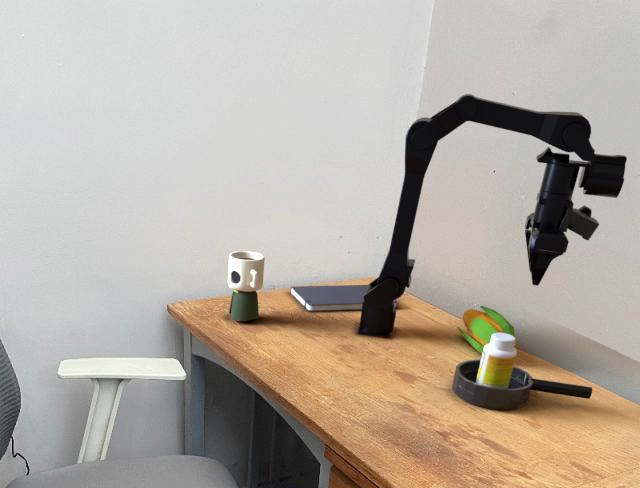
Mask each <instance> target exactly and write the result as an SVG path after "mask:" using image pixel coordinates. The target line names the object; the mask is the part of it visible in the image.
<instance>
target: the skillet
mask: <svg viewBox="0 0 640 488" xmlns="http://www.w3.org/2000/svg"><path fill="white" fill-rule="evenodd" d="M480 362H481V359H471V360H470V359H469V360H465V361H462V362H459V363H458V364H457V365H456V366H455V369H454V375H453V379H452V383H451V389H452V391H453V393H454V394H455V395H456V396H458V398H459V399H462V400H463V401H465V402H466V403H468V404H470V405H471V404H472V405H474V406H477V407H481V408H485V409H490V410H504V411H505V410H513V409H517V408H520V407H523V406H525V405H527V404H528V402H529V400H530V397H531V393H532V391H533V390H532V387H533V383H534V382H533V381H532V378H533V376H532V375H531V374H530V373H529V372H527V371H526V370H524V369H523V368H520V367H518V366H515V365H514V366H513V370H512V374H511V378H510V382H509V386H508V389H499V388H493V387H487V386H484V385H480V384H477V383H476V379H477V375H478V370H479V366H480Z"/></svg>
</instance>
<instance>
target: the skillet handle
mask: <svg viewBox="0 0 640 488" xmlns="http://www.w3.org/2000/svg"><path fill="white" fill-rule="evenodd" d="M532 381H533V382H534V383H533V387H532V390H531V391H535V392H541V393H547V394H553V395H560V396H568V397H573V398H580V399H585V400H590V399H591V397H592V394H593V386H586V385H579V384H572V383H565V382H560V381H552V380H545V379H540V378H539V379H538V378H533V377H532Z"/></svg>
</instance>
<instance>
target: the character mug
mask: <svg viewBox="0 0 640 488" xmlns="http://www.w3.org/2000/svg"><path fill="white" fill-rule="evenodd" d="M265 258H266V257H265V256H264V254H262V253H260V252H255V251H249V250H239V251H233V252H231V253H230V254H229V255H228V278H227V286H228V288H230V289H232V290H233V291H232V295H231V298H230V303H229V308H228V316H227V317H230V319H231V320H234V321H236V322H237V321H238V322H248V321H252V320H256V319H258V318H259V298H258V295H259V294H258V292H257V291H260V290H261V289H262V288H263V286H264V275H265V274H264V273H265Z"/></svg>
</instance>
